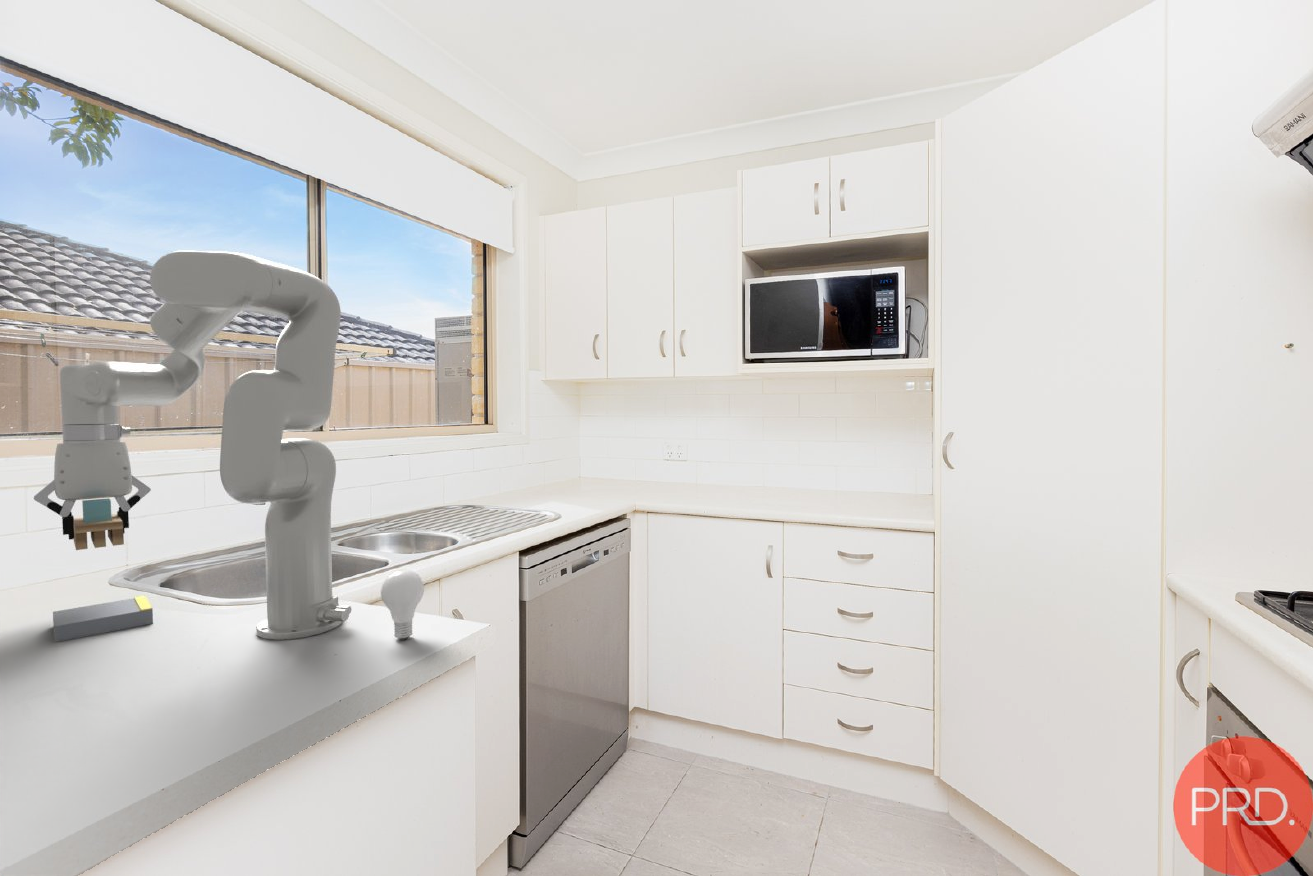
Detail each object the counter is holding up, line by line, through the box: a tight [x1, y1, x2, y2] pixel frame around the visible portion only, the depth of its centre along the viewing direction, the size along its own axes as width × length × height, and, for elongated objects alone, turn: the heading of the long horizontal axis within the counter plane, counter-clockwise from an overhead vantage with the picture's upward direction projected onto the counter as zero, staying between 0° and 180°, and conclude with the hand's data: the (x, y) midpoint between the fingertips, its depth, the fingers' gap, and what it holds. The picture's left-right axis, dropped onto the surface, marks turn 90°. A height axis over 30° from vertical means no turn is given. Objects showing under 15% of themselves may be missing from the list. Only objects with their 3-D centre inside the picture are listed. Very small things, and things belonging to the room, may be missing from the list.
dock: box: [52, 595, 154, 643], centre depth 105 cm, size 10×12×3 cm
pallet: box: [72, 513, 125, 551], centre depth 108 cm, size 12×6×4 cm, turn 45°
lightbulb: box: [380, 569, 425, 640], centre depth 98 cm, size 6×6×11 cm
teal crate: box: [81, 497, 112, 523], centre depth 107 cm, size 4×4×4 cm
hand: (96, 534), depth 111 cm, fingers closed on pallet, 6 cm apart
